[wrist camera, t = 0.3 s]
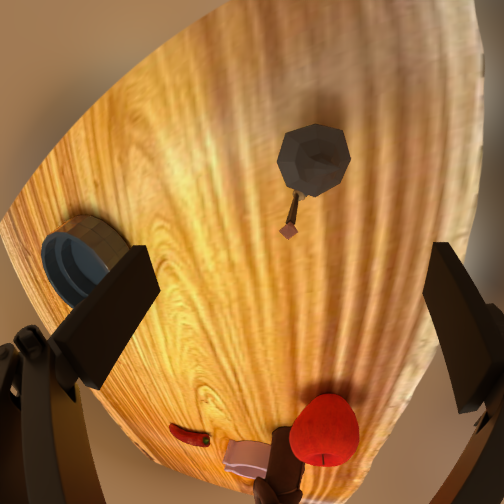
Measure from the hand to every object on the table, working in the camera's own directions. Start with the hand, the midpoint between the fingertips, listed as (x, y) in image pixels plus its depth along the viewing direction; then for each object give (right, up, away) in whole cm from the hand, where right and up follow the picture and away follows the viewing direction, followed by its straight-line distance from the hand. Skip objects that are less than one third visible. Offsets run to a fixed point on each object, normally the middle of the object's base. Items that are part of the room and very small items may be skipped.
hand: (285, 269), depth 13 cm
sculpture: (+8, -41, +47) cm, 63 cm away
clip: (+3, -51, +55) cm, 75 cm away
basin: (-26, 0, +31) cm, 40 cm away
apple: (+12, -26, +37) cm, 47 cm away
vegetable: (-17, -46, +57) cm, 75 cm away
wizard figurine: (+5, +11, +17) cm, 20 cm away
